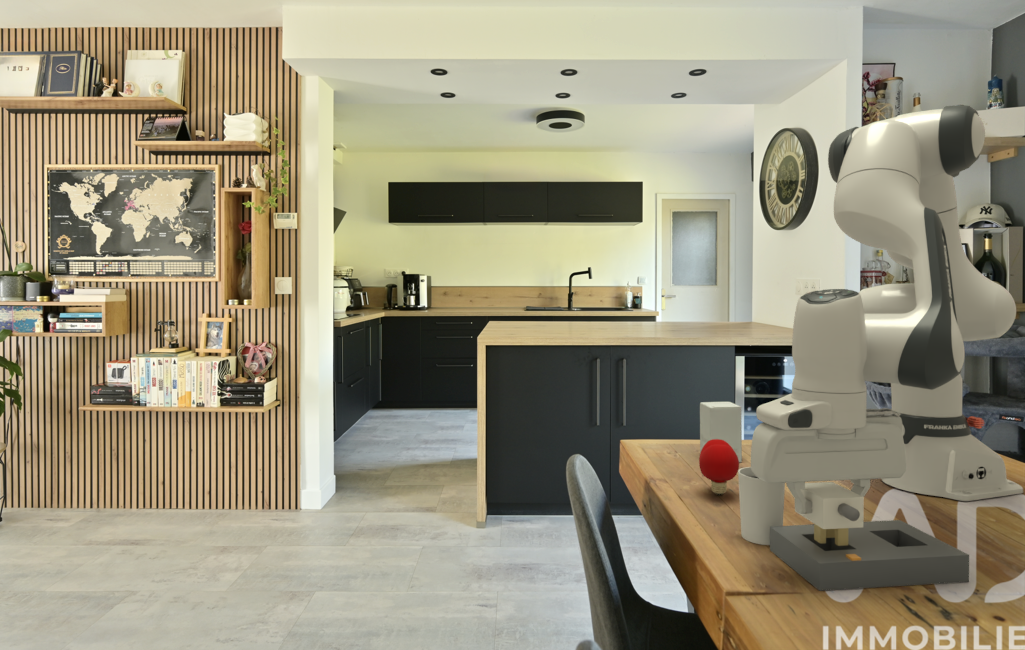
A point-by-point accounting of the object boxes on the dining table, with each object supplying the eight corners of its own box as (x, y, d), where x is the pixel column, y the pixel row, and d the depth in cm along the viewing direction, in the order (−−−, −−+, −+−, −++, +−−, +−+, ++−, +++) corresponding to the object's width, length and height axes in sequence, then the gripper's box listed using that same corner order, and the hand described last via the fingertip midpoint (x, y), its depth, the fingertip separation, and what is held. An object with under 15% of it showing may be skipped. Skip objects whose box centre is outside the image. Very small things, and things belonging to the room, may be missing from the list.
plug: (832, 530, 82) (832, 481, 82) (873, 556, 74) (874, 502, 74) (794, 532, 82) (795, 483, 82) (832, 558, 74) (833, 504, 73)
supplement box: (742, 462, 130) (742, 406, 129) (709, 463, 130) (709, 407, 130) (730, 454, 137) (730, 400, 137) (699, 454, 137) (699, 401, 137)
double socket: (899, 543, 86) (899, 517, 86) (969, 581, 74) (969, 552, 74) (769, 550, 85) (769, 524, 85) (819, 590, 73) (819, 561, 73)
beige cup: (732, 528, 93) (731, 467, 93) (774, 528, 93) (774, 466, 92) (747, 546, 86) (747, 479, 86) (793, 546, 86) (793, 479, 86)
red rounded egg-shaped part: (743, 504, 104) (743, 449, 103) (702, 502, 105) (702, 447, 105) (734, 487, 113) (734, 436, 112) (696, 486, 114) (696, 435, 114)
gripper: (884, 403, 82) (883, 500, 83) (745, 408, 81) (745, 506, 81) (919, 412, 76) (918, 516, 77) (768, 416, 74) (768, 523, 75)
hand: (827, 511), depth 79 cm, fingers closed on plug, 5 cm apart
